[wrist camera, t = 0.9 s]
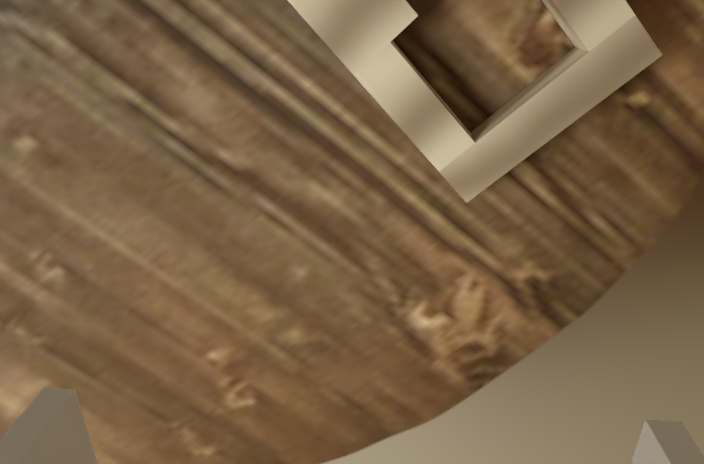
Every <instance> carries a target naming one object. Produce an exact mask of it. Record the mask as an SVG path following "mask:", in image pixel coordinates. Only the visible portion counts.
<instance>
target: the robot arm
mask: <svg viewBox="0 0 704 464" xmlns="http://www.w3.org/2000/svg"><path fill="white" fill-rule="evenodd" d="M0 464H98V463H97V460H96V456H95V453H94V450H93V447H92V443H91V440H90V437H89V434H88V430H87V427H86V424H85V421H84V417H83V414H82V411H81V408H80V404H79V401H78V398H77V394H76V391H75V390H72V389H53V388H44V389H43V390H42V391H41V392H40V394H39V395H38V396H37V397H36V398H35V399H34V401H33V402H32V403H31V404H30V405H29V406H28V408H27V409H26V410H25V411H24V412H23V413H22V415H21V416H20V417H19V418H18V419H17V420H16V421H15V423H14V424H13V425H12V426H11V427H10V428H9V430H8V431H7V432H6V433H5V434H4V435H3V437H2V438H1V439H0ZM631 464H704V455H703V454H702V452H701V451H700V449H699V447H698V446H697V445H696V443H695V441H694V440H693V438H692V437H691V435H690V434H689V432H688V431H687V429H686V428H685V426H684V424H683V423H682V422H679V421H660V420H645V423H644V426H643V429H642V432H641V435H640V438H639V442H638V444H637V448H636V451H635V453H634V457H633V460H632V463H631Z"/></svg>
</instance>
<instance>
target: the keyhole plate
mask: <svg viewBox="0 0 704 464" xmlns="http://www.w3.org/2000/svg"><path fill="white" fill-rule="evenodd" d="M288 1H289V3H290V4H291V5H292V6H293V7H294V8H295V9H296V10H297V12H298V13H299V14H300V15H301V16H302V17H303V18H304V19H305V21H306V22H307V23H308V24H309V25H310V26H311V27H312V29H313V30H314V31H315V32H316V33H317V34H318V35H319V36H320V38H321V39H322V40H323V41H324V42H325V43H326V44H327V46H328V47H329V48H330V49H331V50H332V51H333V52H334V53H335V55H336V56H337V57H338V58H339V59H340V60H341V61H342V62H343V64H344V65H345V66H346V67H347V68H348V69H349V70H350V72H351V73H352V74H353V75H354V76H355V77H356V78H357V79H358V81H359V82H360V83H361V84H362V85H363V86H364V87H365V89H366V90H367V91H368V92H369V93H370V94H371V95H372V96H373V98H374V99H375V100H376V101H377V102H378V103H379V104H380V105H381V107H382V108H383V109H384V110H385V111H386V112H387V113H388V115H389V116H390V117H391V118H392V119H393V120H394V121H395V122H396V124H397V125H398V126H399V127H400V128H401V129H402V130H403V132H404V133H405V134H406V135H407V136H408V137H409V138H410V139H411V141H412V142H413V143H414V144H415V145H416V146H417V147H418V148H419V150H420V151H421V152H422V153H423V154H424V155H425V156H426V158H427V159H428V160H429V161H430V162H431V163H432V164H433V165H434V167H435V168H436V169H437V170H438V171H439V172H440V173H441V175H442V176H443V177H444V178H445V179H446V180H447V181H448V182H449V184H450V185H451V186H452V187H453V188H454V189H455V190H456V192H457V193H458V194H459V195H460V196H461V197H462V198H463V199H464V201H465V202H466V203H467V202H468V201H470V200H471V199H472V198H474V197H475V196H476V195H478V194H479V193H480V192H482V191H483V190H484V189H486V188H487V187H488V186H490V185H491V184H492V183H494V182H495V181H496V180H498V179H499V178H500V177H502V176H503V175H504V174H505V173H507V172H508V171H509V170H511V169H512V168H513V167H515V166H516V165H517V164H519V163H520V162H521V161H523V160H524V159H525V158H527V157H528V156H529V155H531V154H532V153H533V152H535V151H536V150H537V149H539V148H540V147H541V146H543V145H544V144H545V143H547V142H548V141H549V140H551V139H552V138H553V137H555V136H556V135H557V134H559V133H560V132H561V131H563V130H564V129H565V128H566V127H568V126H569V125H570V124H572V123H573V122H574V121H576V120H577V119H578V118H580V117H581V116H582V115H584V114H585V113H586V112H588V111H589V110H590V109H592V108H593V107H594V106H596V105H597V104H598V103H600V102H601V101H602V100H604V99H605V98H606V97H608V96H609V95H610V94H612V93H613V92H614V91H616V90H617V89H618V88H620V87H621V86H622V85H623V84H625V83H626V82H627V81H629V80H630V79H631V78H633V77H634V76H635V75H637V74H638V73H639V72H641V71H642V70H643V69H645V68H646V67H647V66H649V65H650V64H651V63H653V62H654V61H655V60H657V59H658V58H659V57H661V56H662V54H661V52H660V51H659V49H658V48H657V46H656V45H655V43H654V42H653V40H652V39H651V37H650V36H649V34H648V33H647V31H646V30H645V28H644V27H643V25H642V24H641V23H640V21H639V20H638V18H637V17H636V15H635V14H634V12H633V11H632V9H631V8H630V6H629V5H628V3H627V2H626V0H542V2H543V3H544V4H545V6H546V7H547V9H548V10H549V11H550V13H551V14H552V15H553V17H554V18H555V20H556V21H557V22H558V24H559V25H560V26H561V28H562V29H563V31H564V32H565V33H566V35H567V36H568V37H569V39H570V40H571V42H572V43H573V44H574V46H575V48H574V49H572V50H571V51H570V52H569V53H567V54H566V55H565V56H564V57H562V58H561V59H560V60H559V61H558V62H556V63H555V64H554V65H553V66H551V67H550V68H549V69H548V70H546V71H545V72H544V73H543V74H541V75H540V76H539V77H538V78H537V79H535V80H534V81H533V82H532V83H530V84H529V85H528V86H527V87H525V88H524V89H523V90H522V91H521V92H519V93H518V94H517V95H516V96H514V97H513V98H512V99H511V100H509V101H508V102H507V103H506V104H504V105H503V106H502V107H501V108H500V109H498V110H497V111H496V112H495V113H493V114H492V115H491V116H490V117H488V118H487V119H486V120H485V121H483V122H482V123H481V124H480V125H479V126H477V127H476V128H475V129H474V130H472V131H471V132H469V131H468V129H467V128H466V127H465V126H464V125H463V123H462V122H461V121H460V120H459V119H458V117H457V116H456V115H455V114H454V113H453V111H452V110H451V109H450V108H449V107H448V106H447V104H446V103H445V102H444V101H443V100H442V98H441V97H440V96H439V95H438V94H437V92H436V91H435V90H434V89H433V88H432V86H431V85H430V84H429V83H428V82H427V81H426V79H425V78H424V77H423V76H422V75H421V73H420V72H419V71H418V70H417V69H416V67H415V66H414V65H413V64H412V63H411V61H410V60H409V59H408V58H407V57H406V55H405V54H404V53H403V52H402V51H401V50H400V48H399V47H398V46H397V45H396V44H395V42H394V41H393V39H394V38H395V37H396V36H397V35H398V34H399V33H401V32H402V31H403V30H404V29H405V28H406V27H407V26H408V25H409V24H410V23H411V22H412V21H413V20H414V19H415V18H416V17H417V16H418V15H417V13H416V12H415V11H414V9H413V8H412V7H411V6H410V4H409V3H408V2H407V1H406V0H288Z"/></svg>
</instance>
